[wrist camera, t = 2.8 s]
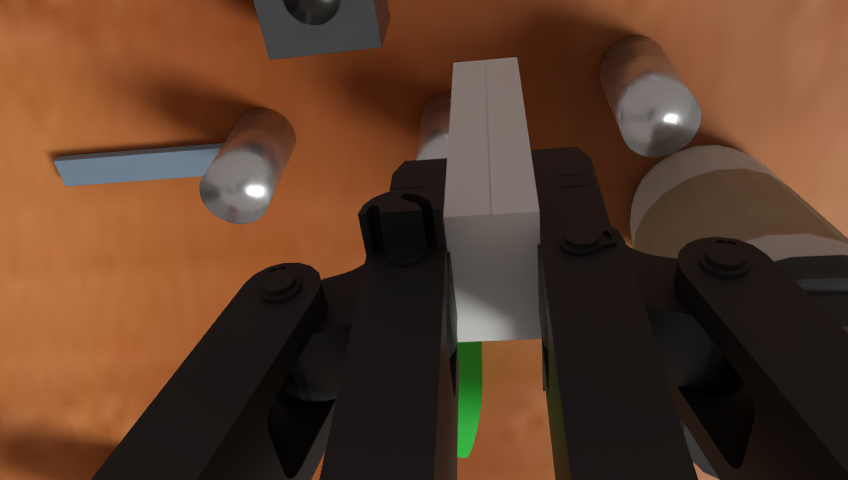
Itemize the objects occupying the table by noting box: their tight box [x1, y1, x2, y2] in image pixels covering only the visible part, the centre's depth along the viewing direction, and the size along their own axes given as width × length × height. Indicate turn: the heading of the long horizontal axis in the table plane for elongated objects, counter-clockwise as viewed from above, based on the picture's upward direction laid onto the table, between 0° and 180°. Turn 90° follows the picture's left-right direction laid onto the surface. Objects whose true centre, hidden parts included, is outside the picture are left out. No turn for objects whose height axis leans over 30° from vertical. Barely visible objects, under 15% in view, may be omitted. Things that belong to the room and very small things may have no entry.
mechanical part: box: [457, 337, 482, 458], centre depth 43 cm, size 12×6×8 cm, turn 169°
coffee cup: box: [630, 145, 848, 479], centre depth 31 cm, size 11×11×15 cm
